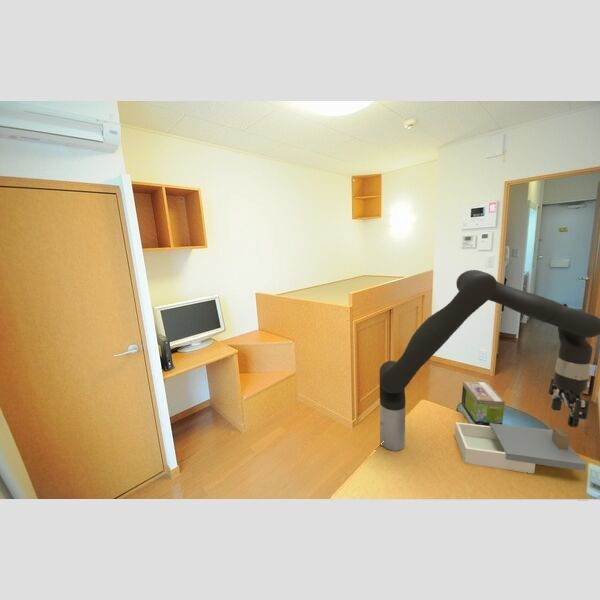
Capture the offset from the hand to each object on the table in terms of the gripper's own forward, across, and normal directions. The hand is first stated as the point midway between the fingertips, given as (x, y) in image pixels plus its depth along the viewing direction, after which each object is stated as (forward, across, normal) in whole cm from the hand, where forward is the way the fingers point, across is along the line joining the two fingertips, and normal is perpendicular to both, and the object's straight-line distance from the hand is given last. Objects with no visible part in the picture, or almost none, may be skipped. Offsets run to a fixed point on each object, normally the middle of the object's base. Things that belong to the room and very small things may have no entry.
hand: (563, 417), depth 87 cm
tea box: (+18, -18, -17) cm, 31 cm away
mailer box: (+18, 0, -19) cm, 26 cm away
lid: (+13, 0, -7) cm, 15 cm away
